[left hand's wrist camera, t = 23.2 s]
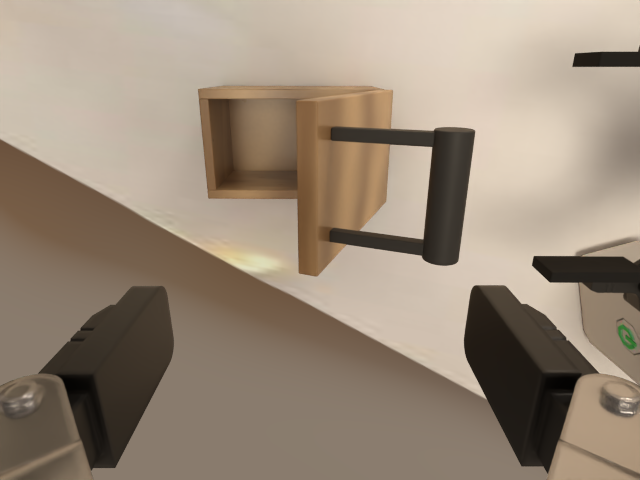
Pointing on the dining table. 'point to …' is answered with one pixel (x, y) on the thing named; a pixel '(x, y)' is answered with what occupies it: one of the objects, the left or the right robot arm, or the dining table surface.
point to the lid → (371, 179)
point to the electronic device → (614, 318)
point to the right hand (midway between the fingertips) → (561, 173)
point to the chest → (255, 138)
